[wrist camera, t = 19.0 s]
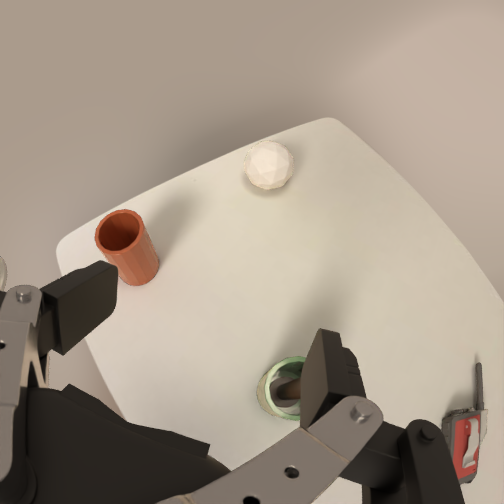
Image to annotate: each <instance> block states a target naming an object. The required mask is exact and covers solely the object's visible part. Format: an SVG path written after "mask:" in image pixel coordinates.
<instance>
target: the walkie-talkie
mask: <svg viewBox="0 0 504 504" xmlns="http://www.w3.org/2000/svg"><path fill="white" fill-rule="evenodd" d="M476 377H477V404H476V410H474V408H473V407H471V408H468V411H467V412H465V413H463V412H464V410H463V409H460V410H455V411H451V413H450V415H452V416H449V417H445V418H444V419H443V421H442V433H443V435H444V437H445V440H446V443H447V446H448V449H449V452H450V455H451V458H452V461H453V464H454V467H455V470H456V474H457V477H458V480H459V484H463V483H471V482H472V480H473V479H474V478H475V476H476V474H477V467H478V458H479V448H480V445H481V444H482V442H483V439H484V437H485V435H486V432H487V414H488V409H485V410H484V403H483V382H482V365H481V363H477V364H476Z"/></svg>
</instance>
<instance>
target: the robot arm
mask: <svg viewBox="0 0 504 504" xmlns="http://www.w3.org/2000/svg"><path fill="white" fill-rule="evenodd" d="M117 284H118V268H117V266H115V265H112V264H110V263H107V262H104V261H101V260H100V261H97V262H95V263H93V264H91V265H90V266H88V267H86V268H82V269H77V270H74V271H72V272H70V273H69V274H67V275H65V276H63V277H61V278H60V279H57V280H55V281H53V282H51V283H50V284H48V285H46V286H44V287H42V288H41V289H38V288H36V287H34V286H31V285H19V286H15V287H13V288H11V289H10V290H8V292H3V291H0V504H312V503H313V502H314V501H315V500H316V499H317V498H318V497H319V496H320V495H321V494H322V493H323V492H324V491H325V490H326V489H327V488H328V487H329V486H330V485H331V484H332V483H333V482H334V481H335V480H336V479H337V478H338V477H342V478H344V479H347V480H350V481H353V482H356V483H359V484H362V504H465V502H464V498H463V495H462V491H461V487H460V484H459V480H458V477H457V474H456V470H455V467H454V464H453V461H452V458H451V455H450V452H449V449H448V446H447V443H446V440H445V437H444V435H443V433H442V431H441V430H440V429H439V428H438V427H437V426H436V425H435V424H433V423H431V422H429V421H427V420H422V419H417V420H413V421H412V422H410V423H409V425H408V426H407V427H406V428H405V429H404V428H401V427H398V426H395V425H392V424H389V423H387V422H385V421H383V414H382V411H381V410H380V408H379V407H378V406H377V405H376V404H375V403H373V402H372V401H370V400H368V399H367V398H366V393H365V389H364V386H363V382H362V378H361V376H360V370H359V368H358V367H359V366H358V363H357V359H356V357H355V355H354V354H353V353H352V352H351V351H350V349H349V348H344V347H342V342H341V338H340V334H339V333H338V332H333V331H329V330H325V329H321V328H320V329H319V330H318V331H317V333H316V336H315V338H314V341H313V343H312V346H311V348H310V350H309V353H308V355H307V357H306V360H305V362H304V365H303V369H302V373H301V404H300V427H299V428H297V429H295V430H294V431H292V432H291V433H290V434H288V435H287V436H286V437H284V438H283V439H281V440H280V441H278V442H277V443H275V444H274V445H273V446H271V447H270V448H268V449H267V450H265V451H264V452H262V453H260V454H259V455H257V456H256V457H254V458H253V459H251V460H249V461H248V462H246V463H245V464H243V465H241V466H240V467H238V468H236V469H235V470H233V471H231V470H229V469H228V468H227V467H226V466H224V465H223V464H222V463H220V462H219V461H217V460H216V459H214V458H212V457H210V456H209V455H207V454H208V451H209V447H210V444H207V443H204V442H201V441H198V440H195V439H192V438H189V437H186V436H183V435H180V434H177V433H175V432H172V431H166V430H161V429H155V428H150V427H145V426H140V425H136V424H132V423H129V422H127V421H125V420H124V419H123V418H121V417H120V416H119V415H117V414H116V413H115V412H114V411H112V410H111V409H110V408H108V407H107V406H106V405H105V404H104V403H102V402H101V401H100V400H99V399H97V398H95V397H93V396H91V395H89V394H87V393H85V392H84V391H82V390H80V389H78V388H76V387H75V386H73V385H71V384H68V385H67V386H66V387H65V388H64V389H63V390H62V391H59V390H55V389H50V388H49V360H50V357H49V351H50V350H51V349H53V350H54V351H56V352H58V353H59V354H61V355H65V354H66V353H67V352H68V351H69V350H70V349H71V348H72V347H74V346H75V345H76V344H77V343H78V342H80V341H81V340H82V339H83V338H84V337H85V336H87V335H88V334H89V333H90V332H91V331H92V330H94V329H95V328H96V327H97V326H98V325H99V324H101V323H102V322H103V321H104V320H105V319H107V318H108V317H109V316H110V315H111V314H112V313H113V311H114V309H115V306H116V301H117Z"/></svg>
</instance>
